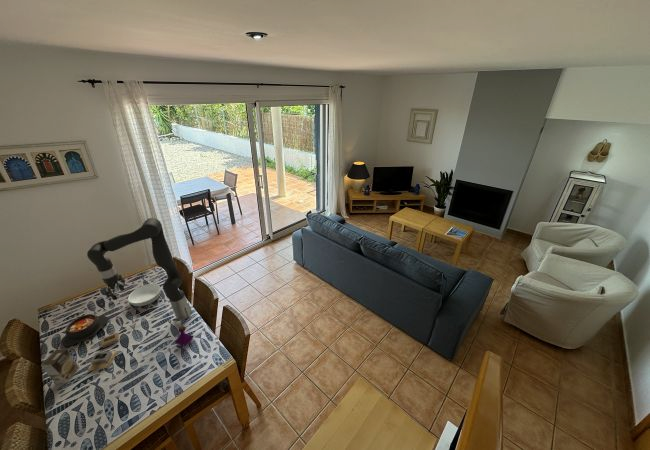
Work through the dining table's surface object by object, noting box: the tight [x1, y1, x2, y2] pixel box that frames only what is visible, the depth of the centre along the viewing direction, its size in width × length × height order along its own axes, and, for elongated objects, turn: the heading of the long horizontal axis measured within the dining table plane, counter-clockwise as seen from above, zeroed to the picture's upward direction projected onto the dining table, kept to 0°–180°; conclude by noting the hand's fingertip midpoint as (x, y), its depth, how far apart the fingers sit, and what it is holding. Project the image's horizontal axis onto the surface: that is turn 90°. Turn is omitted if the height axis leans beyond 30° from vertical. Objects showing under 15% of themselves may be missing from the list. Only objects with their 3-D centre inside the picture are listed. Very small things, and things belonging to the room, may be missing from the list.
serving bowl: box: [127, 283, 162, 307], centre depth 195 cm, size 21×21×7 cm
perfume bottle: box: [174, 320, 194, 347], centre depth 159 cm, size 8×8×18 cm
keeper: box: [87, 350, 118, 371], centre depth 151 cm, size 10×10×6 cm
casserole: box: [60, 313, 110, 347], centre depth 168 cm, size 25×19×8 cm
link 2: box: [89, 351, 113, 365], centre depth 151 cm, size 8×5×3 cm
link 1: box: [100, 332, 120, 348], centre depth 163 cm, size 8×5×3 cm
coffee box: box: [40, 348, 80, 385], centre depth 141 cm, size 9×6×16 cm
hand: (119, 294), depth 161 cm, fingers open, 8 cm apart
